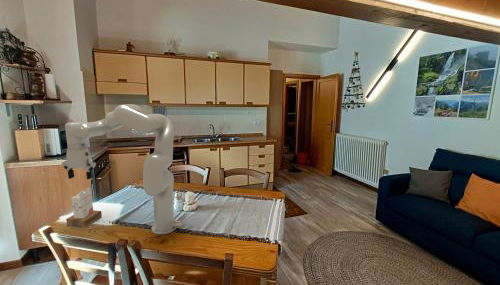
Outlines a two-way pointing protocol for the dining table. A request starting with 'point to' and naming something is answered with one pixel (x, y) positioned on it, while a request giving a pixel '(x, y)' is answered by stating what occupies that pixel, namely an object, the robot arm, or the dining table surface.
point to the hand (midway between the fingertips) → (80, 178)
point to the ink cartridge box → (82, 204)
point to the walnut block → (84, 220)
